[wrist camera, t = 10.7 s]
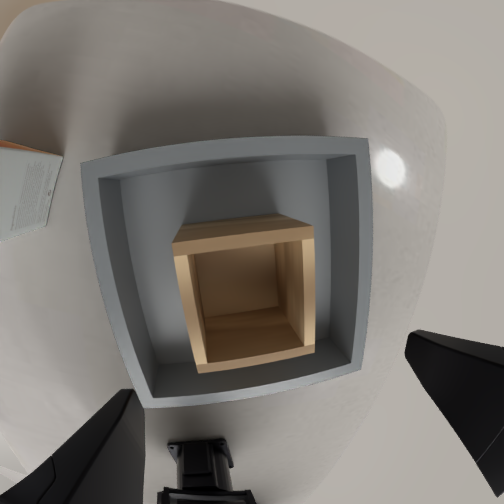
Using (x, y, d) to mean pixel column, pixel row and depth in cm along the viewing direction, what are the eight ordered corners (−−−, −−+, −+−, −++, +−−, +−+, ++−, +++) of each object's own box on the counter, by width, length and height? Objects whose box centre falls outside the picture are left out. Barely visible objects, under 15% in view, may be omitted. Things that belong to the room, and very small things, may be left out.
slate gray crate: (334, 338, 23) (361, 369, 18) (151, 367, 20) (143, 408, 15) (330, 147, 19) (367, 138, 14) (109, 168, 16) (80, 163, 11)
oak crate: (284, 308, 20) (314, 352, 14) (197, 322, 19) (198, 373, 13) (278, 213, 18) (313, 225, 12) (181, 224, 17) (171, 243, 11)
